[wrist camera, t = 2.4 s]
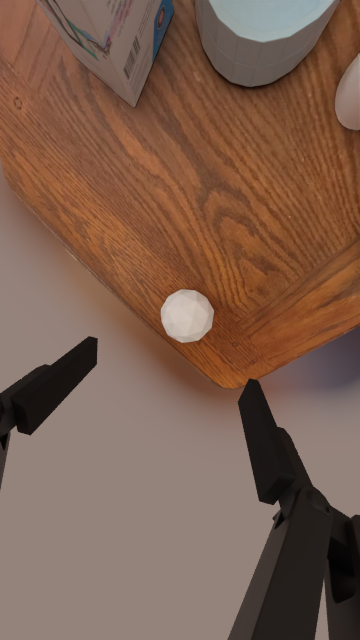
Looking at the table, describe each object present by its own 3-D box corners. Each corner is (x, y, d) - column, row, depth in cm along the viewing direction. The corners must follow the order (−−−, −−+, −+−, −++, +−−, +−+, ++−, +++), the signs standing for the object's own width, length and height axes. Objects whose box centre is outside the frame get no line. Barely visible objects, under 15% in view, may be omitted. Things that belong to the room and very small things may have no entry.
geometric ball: (182, 294, 31) (169, 271, 24) (223, 312, 29) (223, 293, 21) (161, 331, 31) (141, 320, 23) (202, 353, 28) (194, 349, 20)
